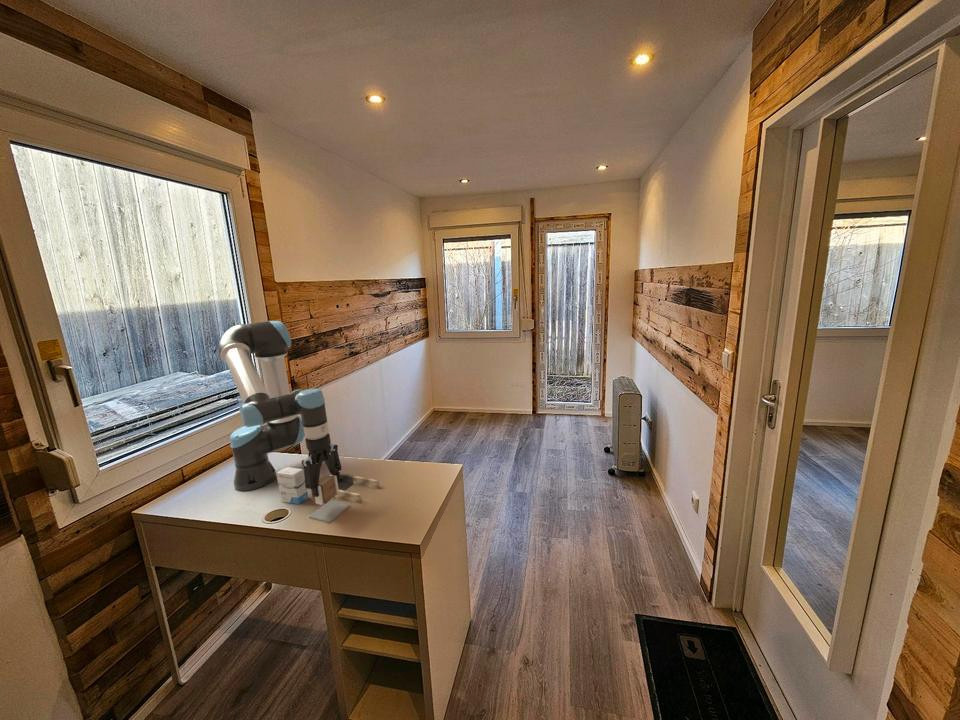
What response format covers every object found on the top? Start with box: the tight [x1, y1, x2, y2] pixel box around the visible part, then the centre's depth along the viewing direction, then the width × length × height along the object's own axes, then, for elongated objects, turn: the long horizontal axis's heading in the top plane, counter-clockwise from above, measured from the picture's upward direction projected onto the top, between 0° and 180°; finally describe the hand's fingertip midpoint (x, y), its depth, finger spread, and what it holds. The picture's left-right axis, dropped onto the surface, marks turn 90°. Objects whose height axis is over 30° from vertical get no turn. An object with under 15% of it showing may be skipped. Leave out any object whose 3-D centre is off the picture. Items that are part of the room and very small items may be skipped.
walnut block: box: [310, 474, 336, 505], centre depth 129 cm, size 5×6×7 cm
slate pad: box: [308, 499, 351, 524], centre depth 131 cm, size 9×10×1 cm
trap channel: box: [333, 472, 380, 504], centre depth 143 cm, size 20×11×3 cm, turn 67°
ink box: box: [276, 466, 309, 505], centre depth 139 cm, size 8×5×12 cm, turn 71°
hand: (327, 497), depth 129 cm, fingers closed on walnut block, 6 cm apart
